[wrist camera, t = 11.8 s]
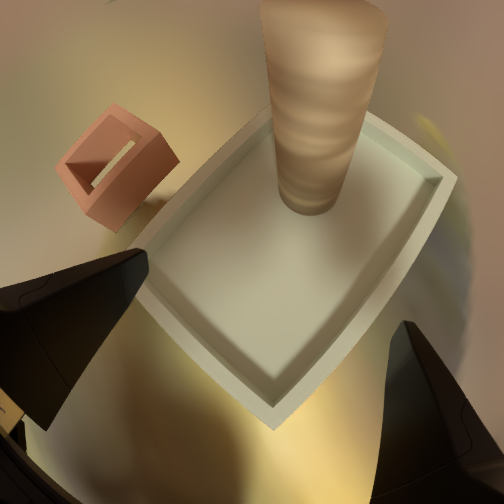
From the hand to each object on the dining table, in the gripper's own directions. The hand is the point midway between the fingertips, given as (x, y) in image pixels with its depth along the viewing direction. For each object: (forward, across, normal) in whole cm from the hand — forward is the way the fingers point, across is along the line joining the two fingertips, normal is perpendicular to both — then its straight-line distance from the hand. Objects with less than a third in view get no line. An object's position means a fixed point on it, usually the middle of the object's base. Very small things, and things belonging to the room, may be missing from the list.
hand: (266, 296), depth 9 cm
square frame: (+11, +16, +1) cm, 19 cm away
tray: (+10, 0, +2) cm, 10 cm away
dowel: (+11, 0, 0) cm, 11 cm away
